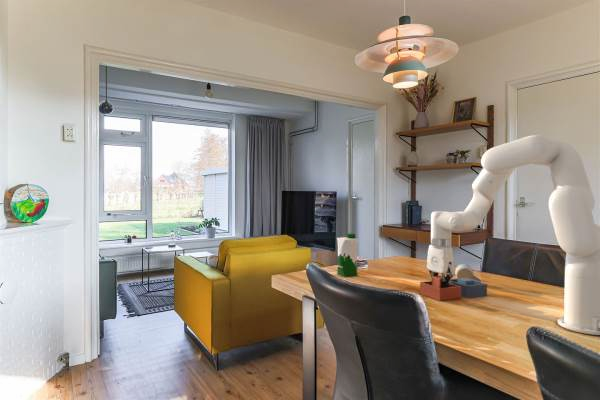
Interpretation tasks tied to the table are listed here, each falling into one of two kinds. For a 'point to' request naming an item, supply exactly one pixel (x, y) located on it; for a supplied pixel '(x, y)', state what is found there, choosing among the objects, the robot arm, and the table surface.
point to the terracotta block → (436, 281)
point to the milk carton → (347, 255)
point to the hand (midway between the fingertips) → (439, 289)
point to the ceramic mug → (465, 272)
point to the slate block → (465, 281)
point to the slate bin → (471, 289)
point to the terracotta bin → (440, 291)
